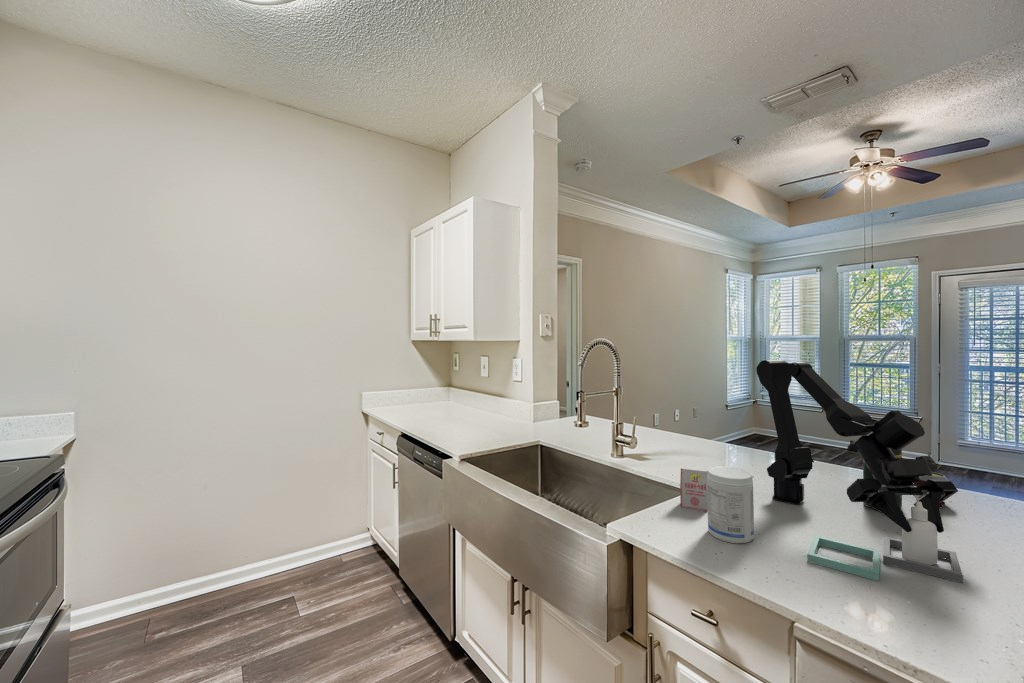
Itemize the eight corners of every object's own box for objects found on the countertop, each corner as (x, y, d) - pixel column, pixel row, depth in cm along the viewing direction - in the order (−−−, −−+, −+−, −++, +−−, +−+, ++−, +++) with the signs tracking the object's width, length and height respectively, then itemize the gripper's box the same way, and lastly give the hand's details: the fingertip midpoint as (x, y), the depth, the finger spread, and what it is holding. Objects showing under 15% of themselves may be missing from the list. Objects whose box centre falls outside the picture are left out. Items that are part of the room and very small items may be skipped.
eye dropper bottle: (898, 553, 89) (897, 496, 89) (934, 559, 86) (934, 500, 86) (904, 562, 85) (904, 503, 85) (943, 570, 82) (942, 508, 82)
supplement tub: (726, 523, 104) (725, 463, 104) (763, 539, 96) (763, 474, 96) (698, 531, 100) (697, 469, 100) (735, 549, 92) (734, 480, 92)
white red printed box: (681, 502, 118) (681, 466, 118) (708, 506, 115) (708, 469, 115) (680, 507, 115) (680, 470, 115) (708, 511, 112) (707, 473, 112)
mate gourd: (934, 498, 119) (933, 445, 119) (961, 510, 111) (960, 452, 111) (905, 498, 119) (904, 444, 119) (929, 509, 112) (929, 452, 112)
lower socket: (807, 561, 86) (807, 553, 86) (814, 541, 94) (814, 535, 94) (878, 581, 79) (878, 573, 79) (880, 558, 87) (879, 550, 87)
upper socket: (883, 562, 85) (883, 555, 85) (883, 543, 94) (883, 536, 94) (962, 583, 78) (962, 575, 78) (955, 559, 86) (955, 552, 86)
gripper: (855, 441, 90) (899, 514, 79) (949, 441, 89) (1007, 515, 78) (830, 467, 98) (867, 536, 87) (916, 467, 97) (965, 538, 86)
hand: (925, 531), depth 84 cm, fingers closed on eye dropper bottle, 6 cm apart
